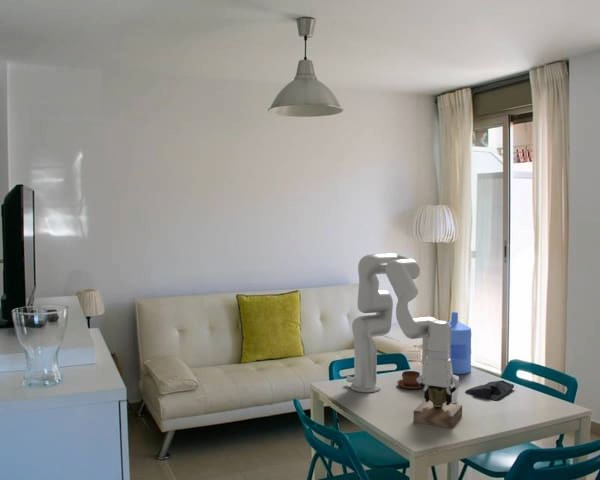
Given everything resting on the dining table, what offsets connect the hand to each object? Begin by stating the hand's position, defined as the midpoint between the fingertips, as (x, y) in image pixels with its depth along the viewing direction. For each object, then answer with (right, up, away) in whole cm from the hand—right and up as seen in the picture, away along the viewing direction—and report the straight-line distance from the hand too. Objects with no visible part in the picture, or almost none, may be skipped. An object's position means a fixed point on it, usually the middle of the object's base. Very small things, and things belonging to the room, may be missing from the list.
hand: (437, 402), depth 211 cm
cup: (0, -2, 0) cm, 2 cm away
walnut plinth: (0, -6, 0) cm, 6 cm away
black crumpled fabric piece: (+30, -5, +32) cm, 45 cm away
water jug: (+24, -4, +67) cm, 71 cm away
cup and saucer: (-2, -5, +41) cm, 41 cm away
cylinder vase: (+11, -4, +51) cm, 52 cm away
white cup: (+9, -5, +20) cm, 23 cm away
